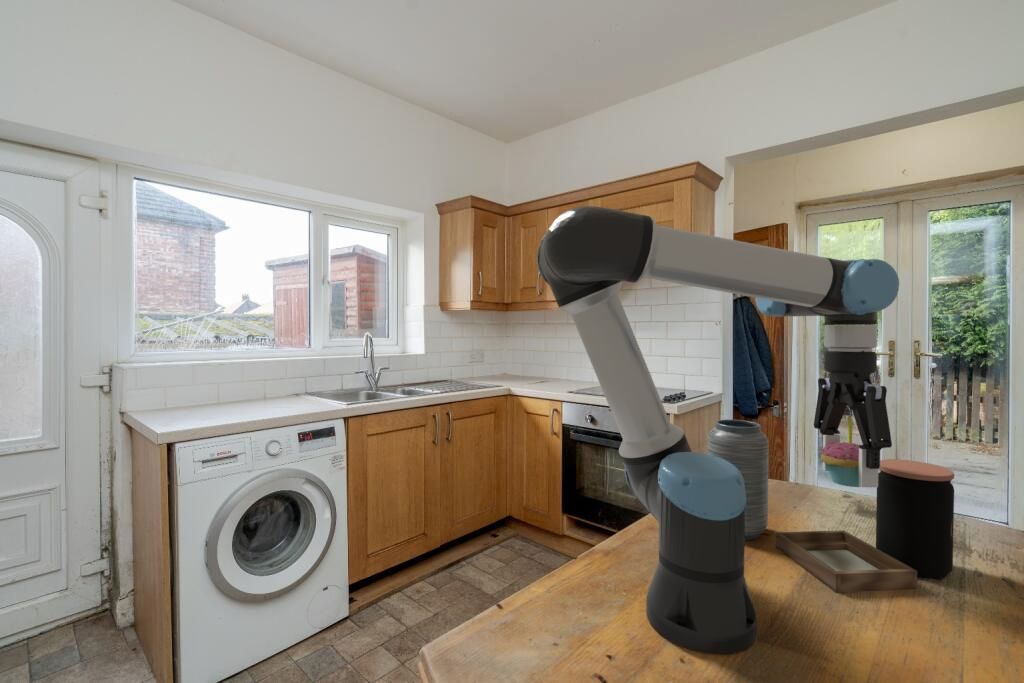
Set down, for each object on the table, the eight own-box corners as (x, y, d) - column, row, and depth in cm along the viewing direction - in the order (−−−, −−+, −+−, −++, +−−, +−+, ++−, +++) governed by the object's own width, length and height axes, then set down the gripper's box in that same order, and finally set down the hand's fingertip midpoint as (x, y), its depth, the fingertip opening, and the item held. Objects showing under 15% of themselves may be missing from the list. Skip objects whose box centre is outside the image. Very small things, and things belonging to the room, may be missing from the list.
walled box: (835, 592, 78) (835, 573, 78) (775, 547, 94) (775, 532, 94) (916, 589, 79) (917, 571, 79) (843, 545, 95) (843, 530, 95)
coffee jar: (968, 584, 80) (971, 477, 80) (895, 578, 82) (897, 474, 82) (927, 555, 91) (929, 460, 90) (863, 550, 93) (865, 457, 92)
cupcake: (822, 473, 91) (822, 409, 90) (878, 481, 85) (879, 414, 85) (818, 485, 84) (819, 416, 83) (880, 494, 79) (880, 421, 78)
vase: (737, 517, 109) (738, 416, 108) (780, 538, 98) (782, 426, 97) (695, 523, 105) (696, 420, 105) (735, 546, 94) (736, 430, 94)
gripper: (923, 352, 73) (921, 499, 74) (830, 347, 95) (829, 461, 95) (874, 353, 73) (872, 499, 74) (792, 347, 95) (792, 461, 95)
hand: (848, 477), depth 85 cm, fingers closed on cupcake, 9 cm apart
